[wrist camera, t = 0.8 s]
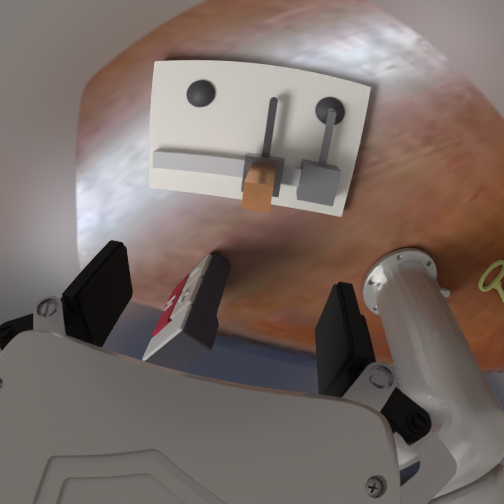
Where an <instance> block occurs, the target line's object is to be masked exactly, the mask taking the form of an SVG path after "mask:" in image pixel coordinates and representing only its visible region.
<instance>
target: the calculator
mask: <svg viewBox="0 0 504 504" xmlns="http://www.w3.org/2000/svg"><path fill="white" fill-rule="evenodd" d="M230 266H231V264H229V263H228V262H227V261H226V260H224V259H223V258H222V257H221V256H219V255H218V254H217V253H213V254H212V255H211V254H208V255H207V256H206V257H205V258H204V259H203V260H202V261H201V262H200V263H199V264H198V265H197V266H196V267H195V268H194V269H193V270H192V272H191V273H190V275H188V276H187V277H186V278H185V279H184V280H183V281H182V282H181V283H180V284H179V285H178V286H177V287H176V288H175V289H174V290H173V292H172V294H171V296H170V298H169V300H168V302H167V304H166V306H165V308H164V310H163V312H162V315H161V316H160V319H159V321H158V323H157V325H156V327H155V329H154V331H153V334H152V336H154V337H153V338H152V339H151V341H150V343H149V345H148V348H147V350H146V352H145V354H144V356H143V360H144V362H148V363H151V364H155V365H158V366H162V367H165V368H169V369H173V370H177V371H178V370H179V369H181V368H183V367H184V366H186V365H188V364H189V363H191V362H193V361H194V360H196V359H197V358H199V357H200V356H202V355H204V354H205V353H207V352H208V351H210V350H211V349H212V347H213V344H214V340H215V336H216V333H217V329H218V325H219V323H218V319H217V316H216V314H217V311H218V307H219V304H220V300H221V297H222V294H223V290H224V287H225V283H226V280H227V277H228V273H229V270H230Z"/></svg>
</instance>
